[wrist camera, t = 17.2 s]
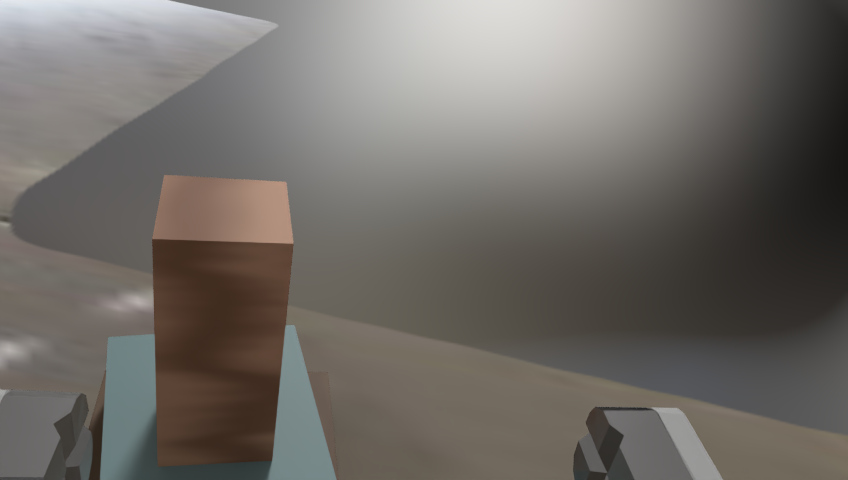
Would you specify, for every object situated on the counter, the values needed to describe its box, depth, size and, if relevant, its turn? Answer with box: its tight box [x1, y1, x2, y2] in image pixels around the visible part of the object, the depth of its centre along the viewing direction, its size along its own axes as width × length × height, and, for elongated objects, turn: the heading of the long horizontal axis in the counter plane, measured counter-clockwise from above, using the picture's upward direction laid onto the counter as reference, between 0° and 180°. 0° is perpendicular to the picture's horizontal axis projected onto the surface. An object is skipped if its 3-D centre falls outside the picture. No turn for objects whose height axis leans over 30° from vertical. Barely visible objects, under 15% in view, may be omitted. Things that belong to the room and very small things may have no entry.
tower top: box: [100, 325, 337, 480], centre depth 35 cm, size 10×14×4 cm
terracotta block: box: [152, 175, 293, 467], centre depth 31 cm, size 5×5×12 cm
